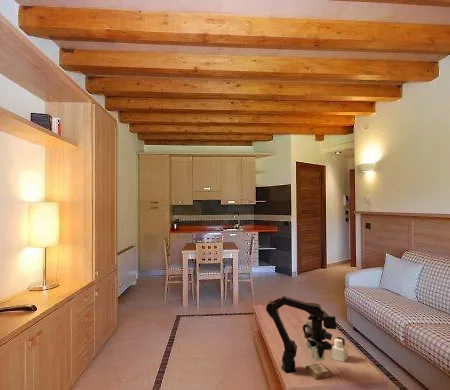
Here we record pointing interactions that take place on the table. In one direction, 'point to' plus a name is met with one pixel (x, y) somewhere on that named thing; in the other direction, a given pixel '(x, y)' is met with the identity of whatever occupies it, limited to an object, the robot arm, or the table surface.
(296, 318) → the table surface
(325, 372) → the walnut base
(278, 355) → the table surface
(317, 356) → the sage block
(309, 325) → the coffeepot
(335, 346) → the medicine bottle
